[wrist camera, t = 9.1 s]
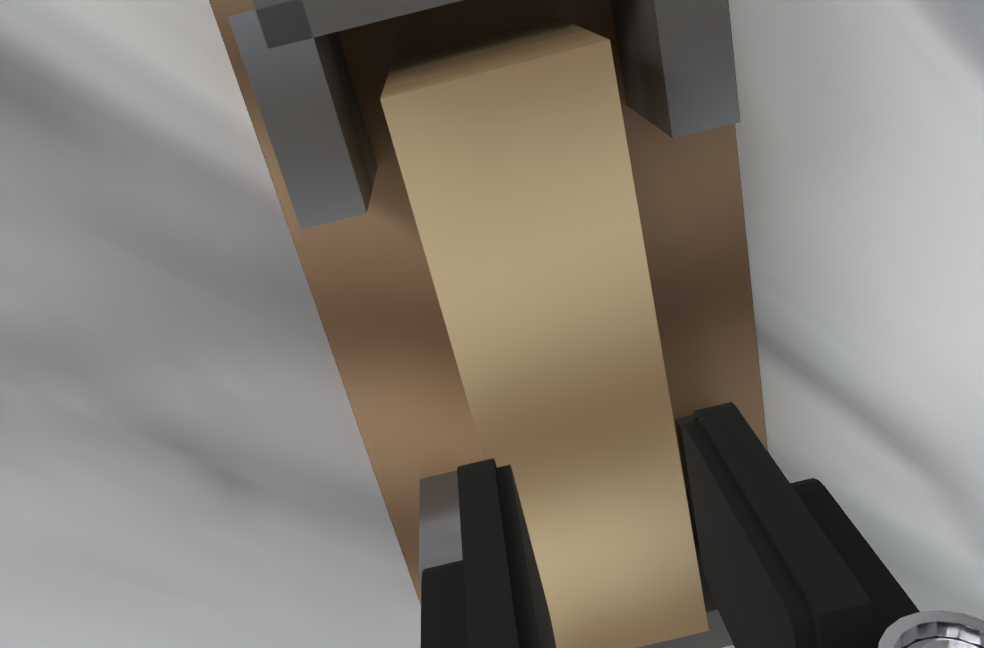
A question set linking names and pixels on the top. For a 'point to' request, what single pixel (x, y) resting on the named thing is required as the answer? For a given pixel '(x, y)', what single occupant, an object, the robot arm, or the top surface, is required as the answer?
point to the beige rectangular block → (554, 317)
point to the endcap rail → (399, 251)
